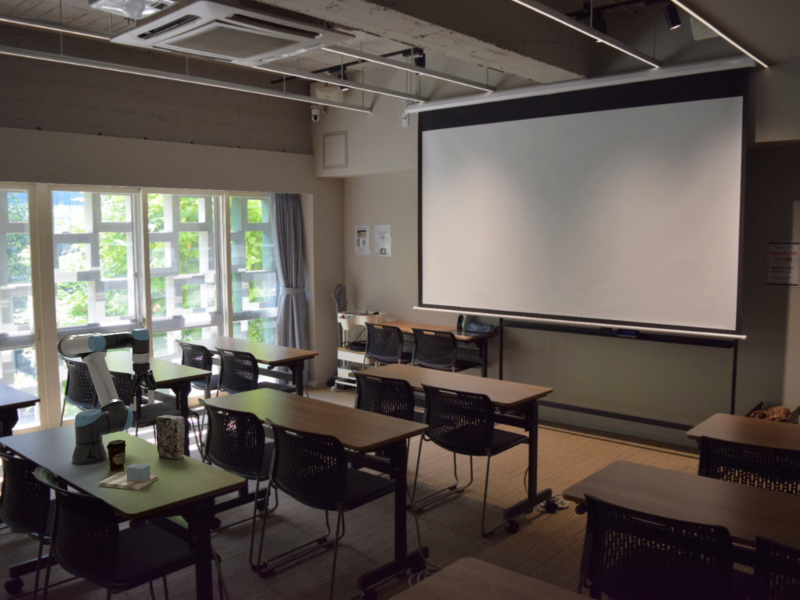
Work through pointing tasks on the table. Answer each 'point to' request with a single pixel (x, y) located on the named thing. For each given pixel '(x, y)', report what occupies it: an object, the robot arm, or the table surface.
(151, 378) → the robot arm
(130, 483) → the board
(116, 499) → the table surface
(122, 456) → the coffee cup
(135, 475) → the block
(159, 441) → the stone block
